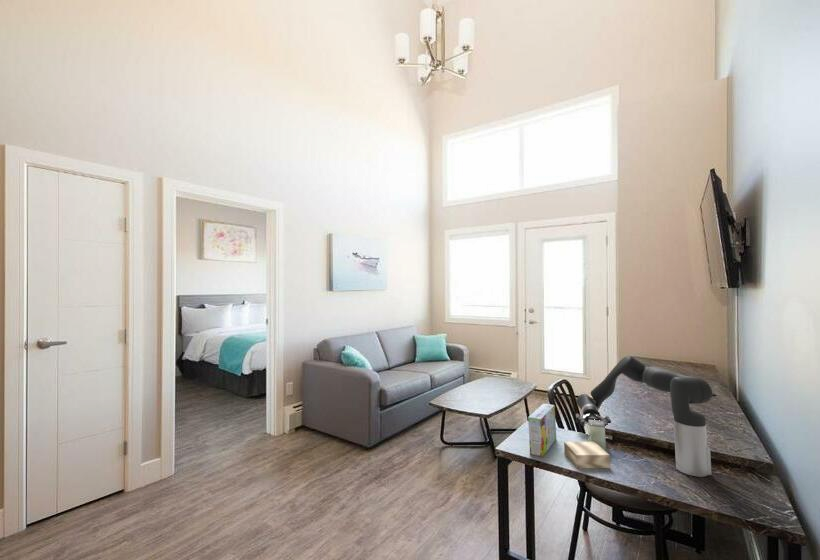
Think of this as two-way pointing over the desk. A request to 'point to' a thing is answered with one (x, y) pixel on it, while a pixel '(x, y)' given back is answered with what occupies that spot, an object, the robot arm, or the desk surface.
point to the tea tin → (597, 433)
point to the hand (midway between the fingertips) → (594, 425)
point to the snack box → (542, 429)
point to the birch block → (586, 455)
